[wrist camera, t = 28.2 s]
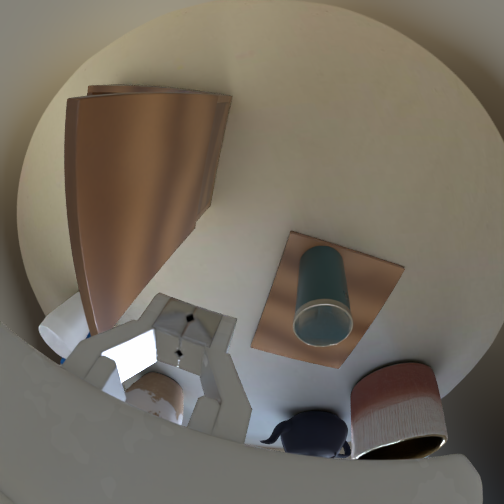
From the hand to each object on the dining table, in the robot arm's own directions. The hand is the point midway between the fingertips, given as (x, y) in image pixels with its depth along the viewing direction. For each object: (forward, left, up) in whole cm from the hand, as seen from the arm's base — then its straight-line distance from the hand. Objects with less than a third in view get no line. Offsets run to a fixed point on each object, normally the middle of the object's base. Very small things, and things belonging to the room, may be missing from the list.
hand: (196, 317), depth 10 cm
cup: (+35, -30, -24) cm, 52 cm away
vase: (+54, -12, -24) cm, 60 cm away
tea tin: (+10, +9, -23) cm, 27 cm away
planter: (+32, +34, -24) cm, 52 cm away
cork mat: (+18, +12, -24) cm, 32 cm away
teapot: (+51, +24, -24) cm, 61 cm away
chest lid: (0, -7, -9) cm, 12 cm away
